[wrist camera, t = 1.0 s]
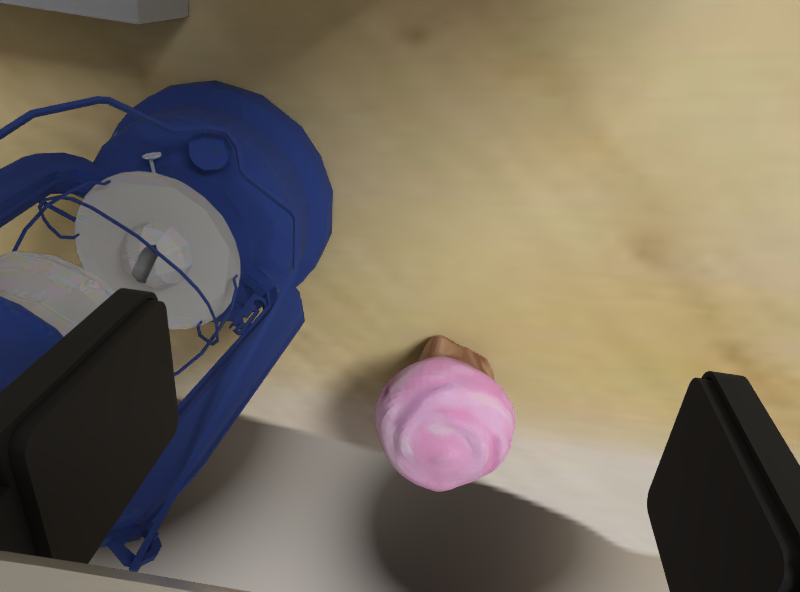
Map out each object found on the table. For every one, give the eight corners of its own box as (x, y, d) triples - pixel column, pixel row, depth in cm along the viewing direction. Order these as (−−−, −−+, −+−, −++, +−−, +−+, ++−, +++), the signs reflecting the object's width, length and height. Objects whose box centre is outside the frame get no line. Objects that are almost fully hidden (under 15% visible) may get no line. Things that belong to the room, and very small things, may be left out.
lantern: (71, 219, 44) (-551, 590, 18) (144, 20, 37) (-697, 139, 11) (285, 342, 47) (19, 827, 20) (389, 176, 40) (194, 583, 13)
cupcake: (532, 348, 44) (543, 441, 35) (474, 432, 48) (471, 534, 39) (419, 294, 43) (402, 376, 35) (370, 384, 47) (343, 478, 39)
